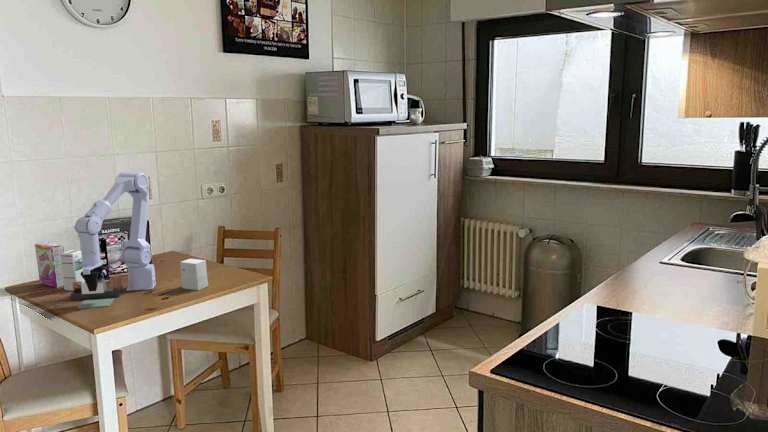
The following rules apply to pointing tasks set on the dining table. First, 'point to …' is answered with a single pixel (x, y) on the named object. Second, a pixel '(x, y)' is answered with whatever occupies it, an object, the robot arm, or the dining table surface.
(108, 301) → the rubber mat
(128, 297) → the dining table surface
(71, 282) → the syrup box
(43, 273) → the candy bar box
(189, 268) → the small box
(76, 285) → the plane body
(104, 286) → the lever cap
